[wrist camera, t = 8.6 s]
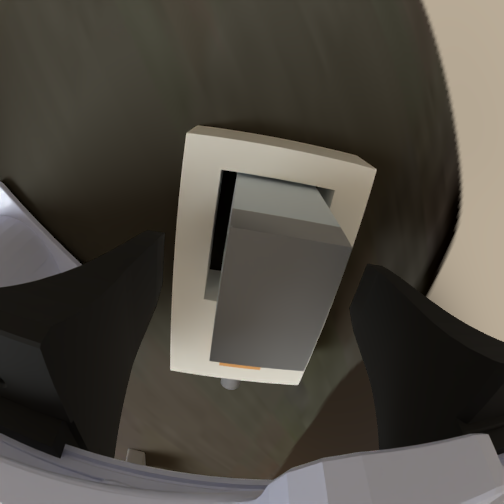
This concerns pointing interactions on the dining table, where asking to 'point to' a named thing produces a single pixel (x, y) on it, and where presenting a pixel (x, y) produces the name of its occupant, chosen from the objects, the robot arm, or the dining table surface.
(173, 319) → the white rectangular frame
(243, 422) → the dining table surface
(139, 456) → the lighter
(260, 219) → the plug
